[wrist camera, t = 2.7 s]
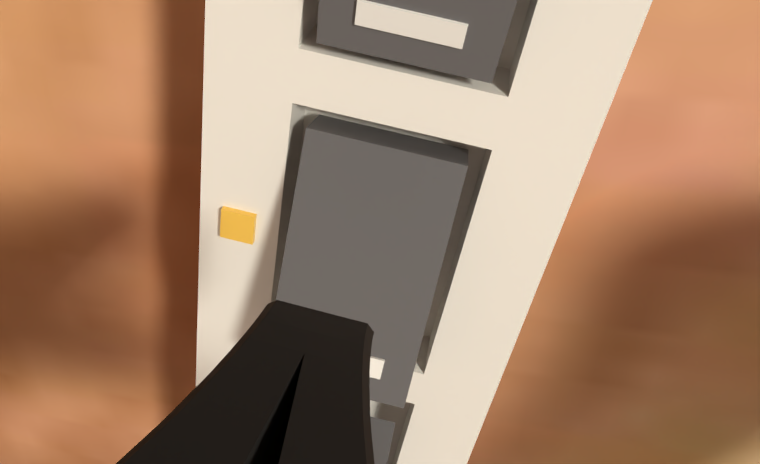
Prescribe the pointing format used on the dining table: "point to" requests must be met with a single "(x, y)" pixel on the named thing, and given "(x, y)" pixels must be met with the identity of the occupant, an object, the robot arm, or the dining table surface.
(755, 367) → the dining table surface
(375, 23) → the plate
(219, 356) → the power strip
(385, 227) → the rocker middle
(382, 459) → the rocker far end
